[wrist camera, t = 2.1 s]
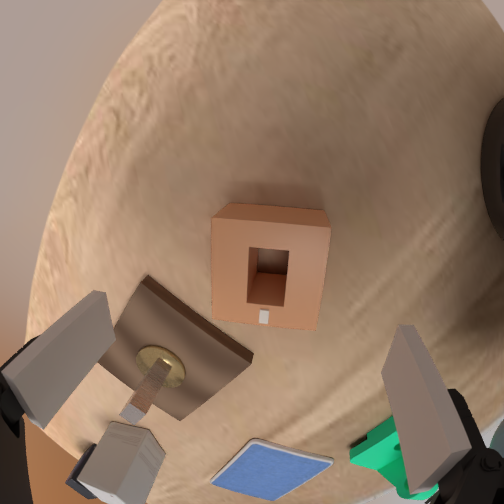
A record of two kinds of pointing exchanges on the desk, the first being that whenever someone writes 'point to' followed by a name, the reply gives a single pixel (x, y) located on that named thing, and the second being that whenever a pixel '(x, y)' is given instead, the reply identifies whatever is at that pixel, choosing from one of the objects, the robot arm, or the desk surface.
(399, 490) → the camera mount
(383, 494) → the desk surface
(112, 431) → the supplement box
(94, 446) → the small box
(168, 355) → the base
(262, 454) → the blue felt tray
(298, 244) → the tan square frame
